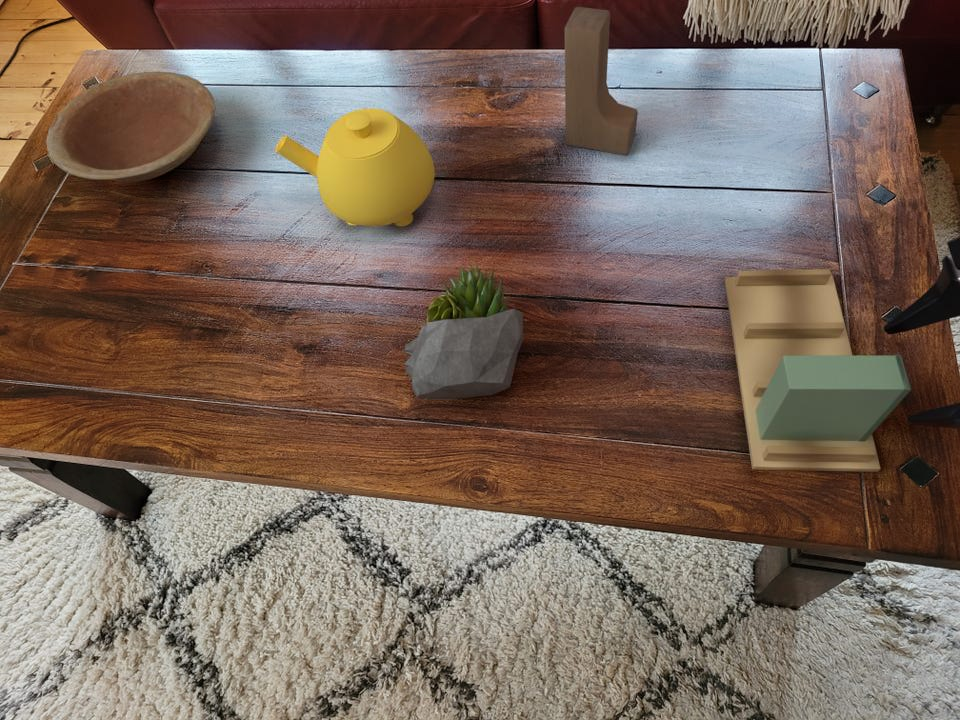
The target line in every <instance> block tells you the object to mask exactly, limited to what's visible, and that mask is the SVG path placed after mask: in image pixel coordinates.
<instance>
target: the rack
mask: <svg viewBox="0 0 960 720" xmlns="http://www.w3.org/2000/svg"><path fill="white" fill-rule="evenodd" d="M724 286H725V294H726V300H727V307H728V314H729V315H728V316H729V321H730V327H731V328H730V329H731V335H732V339H733V340H732V341H733V348H734V355H735V362H736V368H737V375H738V383H739V388H740V389H739V390H740V395H741V396H740V397H741V402H742V411H743V415H744V423H745V429H746V430H745V431H746V436H747V444H748V450H749V457H750V465H751V469H752V470H753V471H755V470H756V471H757V470H759V471H766V470H768V471H808V472H810V471H812V472H813V471H814V472H815V471H816V472H817V471H818V472H821V471H822V472H862V473H863V472H864V473H865V472H867V473H869V472H872V473H878V472H880V470H881V464H880V460H879V456H878V452H877V448H876V444H875V440H874V437H873V436H874V435H873V433H872V434H871V435H870V436H869V437H868V439H867V440H866V441H865V442H859V441H825V440H761V439H760V435H759V428H758V422H757V416H756V408H757V406H758V404H759V402H760V400H761V398H762V396H763V394H764V392H765V390H766V389H767V387H768V385H769V383H770V381H771V379H772V377H773V375H774V373H775V371H776V369H777V367H778V365H779V363H780V361H781V359H782V357H783V356H836V355H853V352H852V348H851V344H850V340H849V336H848V332H847V327H846V324H845V323H846V322H845V318H844V316H843V311H842V307H841V303H840V299H839V296H838V292H837V286H836V283H835V280H834V275H832V270H831V269H830V268H819V269H818V268H815V269H813V268H811V269H809V268H808V269H761V270H760V269H757V270H756V269H755V270H754V269H753V270H748V269H747V270H738V272H737V275H736V276H726V277H725V278H724Z"/></svg>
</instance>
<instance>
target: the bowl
mask: <svg viewBox="0 0 960 720" xmlns="http://www.w3.org/2000/svg"><path fill="white" fill-rule="evenodd" d="M215 112H216V103H215V99H214V97H213V95H212V93H211V91H210V90H209V89H208V88H207V87H206V86H205V85H204V83H202V82H200V81H199V80H198V79H196V78H193V77H191V76H189V75H185V74H180V73H176V72H172V71H171V72H170V71H143V72H135V73H130V74H125V75H121V76H118V77H114V78H111V79H107V80H105V81H101V82H97V83H95V84H94V85H92V86H91V87H89V88H87V89H86V90H85V91H83V92H82V93H80V94H78V95H76V96H75V97H74V98H73V99H72V100H70V101H69V102H68V103H67V104H66V105H65V106H64V107H63V108H62V109H61V110H60V111H59V112H58V114H57V115H56V116H55V117H54V119H53V121H52V123H51V124H50V127H49V129H48V131H47V135H46V150H47V153H48V156H49V157H50V159H51V161H52V162H53V163H54V164H55V165H56V166H57V167H58V168H59V169H61V170H62V171H64V172H65V173H68V174H70V175H72V176H75V177H79V178H82V179H88V180H96V181H107V180H111V181H116V182H123V183H138V182H144V181H149V180H152V179H155V178H157V177H160V176H163V175H165V174H167V173H168V172H170V171H172V170H174V169H176V168H177V167H179V166H180V165H182V164H183V163H184V162H185V161H187V160H188V159H189V158H190V156H192V154H193V153H194V152H196V150H197V148H198V147H199V144H200V143H201V141H202V140H203V139H204V137H205V136H206V135H207V133H208V131H209V129H210V127H211V125H212V123H213V120H214V117H215Z"/></svg>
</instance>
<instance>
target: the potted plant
mask: <svg viewBox="0 0 960 720" xmlns="http://www.w3.org/2000/svg"><path fill="white" fill-rule="evenodd" d="M460 267H461V269H460V270H459V272H458V274H457V277H456V280H457V281H456V280H455V279H454V277H453V275H451V276H449V277H448V278H449V282H450V287H449V286H448V285H447V283H446V281H445V280H443V285H444V291H445V293H446V294H441V295H438V296H437V297H435V298H434V300H433V301H432V302H431V303H430V305H429V308H428V309H427V313H426V314H427V318H426V324H422V326H421V328H420V331H419V333H418V335H417V336H416V337H415V338H413V340H411V341H410V342H409V343H407V344H406V345H405V347H404V350H403V352H404V353H405V354H406V355H409V358H408V359H407V360H406V361H405V362H404V364H403V365H404V366H405V367H406V369H405V370H404V371H405V373H406V374H407V376H408V377H410V378H411V386H412V387H411V388H412V389H411V390H412V393H413V394H414V395H415V397H416V398H417V399H424V400H425V399H426V400H433V401H437V400H439V401H440V400H442V401H443V400H458V399H465V398H466V399H467V398H476V397H483V396H493V395H496V394H498V393H500V392H502V391H504V390H507V389H509V388H511V385H512V380H513V376H514V372H515V367H516V363H517V359H518V354H519V351H520V349H521V347H522V344H523V338H524V337H523V335H524V333H523V332H524V313H523V312H522V311H520V310H518V309H516V308H511V309H508V303H509V298H510V297H509V295H507V297H506V299H505V295H504V292H505V289H504V286H502V277H499V278H500V279H499V284H497V287H496V275H494V272H495V271H494V268H492V270H491V273H490V274H488V267H487V266H485V273H484V274H483V271H482V270H480V268H479V264H478V263H476V265H475V267H473V265H472V264H469V268H468V271H467V270H466V269H465V268H464V267H463V265H460Z"/></svg>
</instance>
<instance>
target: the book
mask: <svg viewBox="0 0 960 720" xmlns="http://www.w3.org/2000/svg"><path fill="white" fill-rule="evenodd" d="M911 390H912V387H911V384H910V380H909V377H908V374H907V370H906V367H905V363H904V361H903V357H902V354H894V355H893V354H891V355H889V354H888V355H886V354H885V355H883V354H882V355H881V354H880V355H874V354H872V355H864V354H863V355H854V354H852V355H836V356H783V357H782V359H781V361H780V363H779V365H778V367H777V369H776V371H775V373H774V375H773V377H772V379H771V381H770V383H769V385H768V387H767V389H766V390H765V392H764V394H763V396H762V398H761V400H760V402H759V404H758V406H757V408H756V416H757V422H758V428H759V435H760V439H761V440H825V441H859V442H865V441H866V440H867V439H868V437H869V436H870V435H871V434H872V435H873V433H874V432H875V431H876V430H877V429H878V427H880V425H882V423H883V422H884V421H885V420H886V418H888V416H889V415H890V414H891V413H892V412H893V411H894V410H895V409H896V407H897V406H898V405H899V404H900V403H901V402H902V401H903V400H904V399H905V397H906V396H907V395H908V394H909V393H910V392H911Z"/></svg>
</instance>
